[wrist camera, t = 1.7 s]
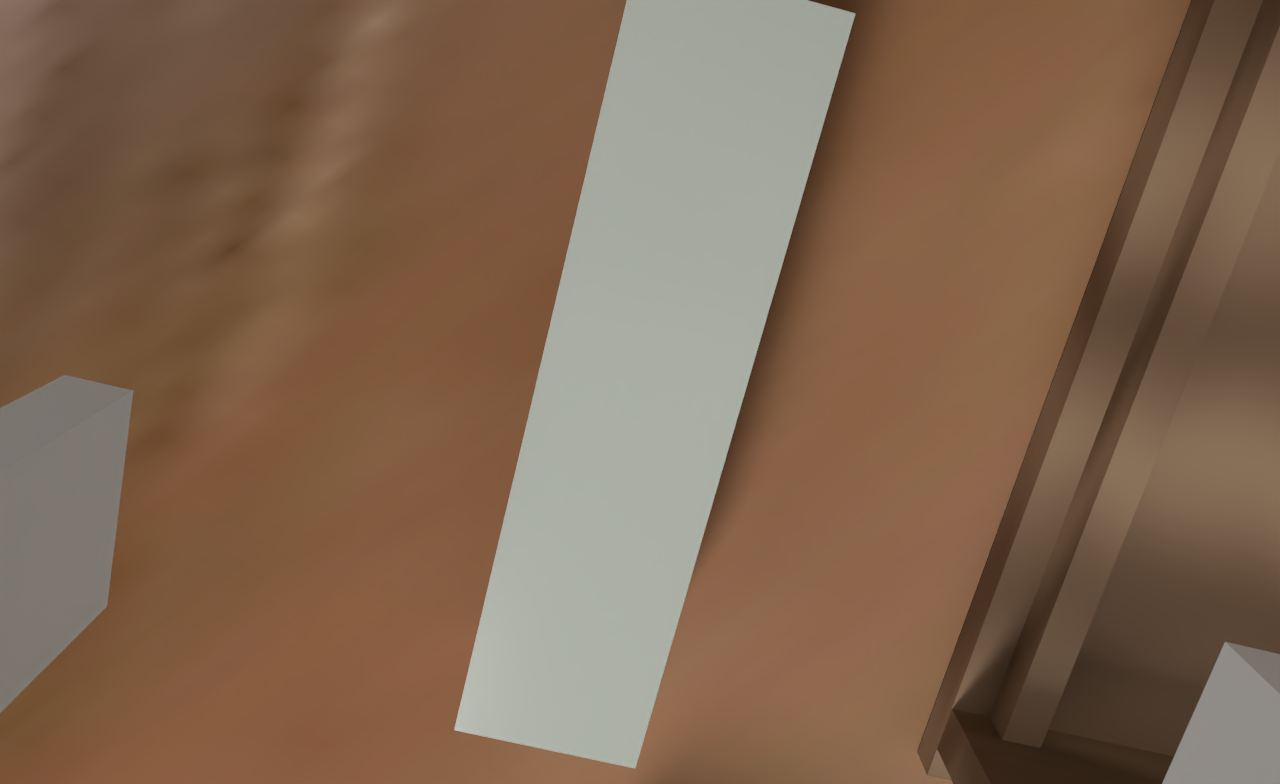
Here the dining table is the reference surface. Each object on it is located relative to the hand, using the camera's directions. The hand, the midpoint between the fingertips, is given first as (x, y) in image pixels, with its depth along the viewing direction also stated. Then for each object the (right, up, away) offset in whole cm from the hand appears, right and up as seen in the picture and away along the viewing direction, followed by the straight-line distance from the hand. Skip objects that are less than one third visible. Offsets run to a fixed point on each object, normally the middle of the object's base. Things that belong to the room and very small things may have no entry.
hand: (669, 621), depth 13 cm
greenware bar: (0, +4, +13) cm, 14 cm away
